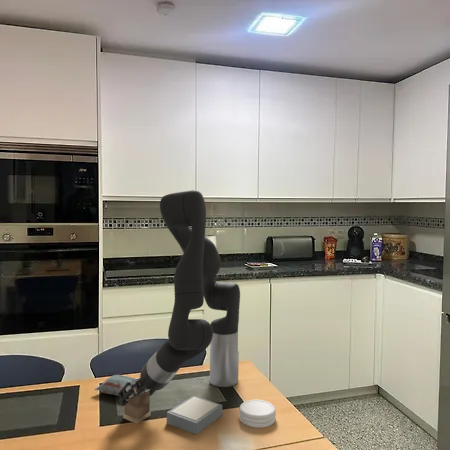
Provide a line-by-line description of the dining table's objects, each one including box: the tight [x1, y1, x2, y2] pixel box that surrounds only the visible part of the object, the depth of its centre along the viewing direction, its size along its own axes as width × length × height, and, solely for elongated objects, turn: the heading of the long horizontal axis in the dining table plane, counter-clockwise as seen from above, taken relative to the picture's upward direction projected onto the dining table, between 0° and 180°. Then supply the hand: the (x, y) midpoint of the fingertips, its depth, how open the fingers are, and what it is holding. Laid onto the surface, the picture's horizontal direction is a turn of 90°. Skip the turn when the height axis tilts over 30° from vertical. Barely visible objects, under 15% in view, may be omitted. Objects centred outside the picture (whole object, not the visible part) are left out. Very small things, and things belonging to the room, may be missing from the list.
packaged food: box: [94, 374, 138, 397], centre depth 132 cm, size 9×12×5 cm
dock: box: [166, 395, 223, 435], centre depth 116 cm, size 12×10×3 cm
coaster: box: [238, 399, 277, 429], centre depth 117 cm, size 10×10×4 cm
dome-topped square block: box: [123, 382, 152, 424], centre depth 117 cm, size 5×5×9 cm
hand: (135, 397), depth 117 cm, fingers open, 8 cm apart
